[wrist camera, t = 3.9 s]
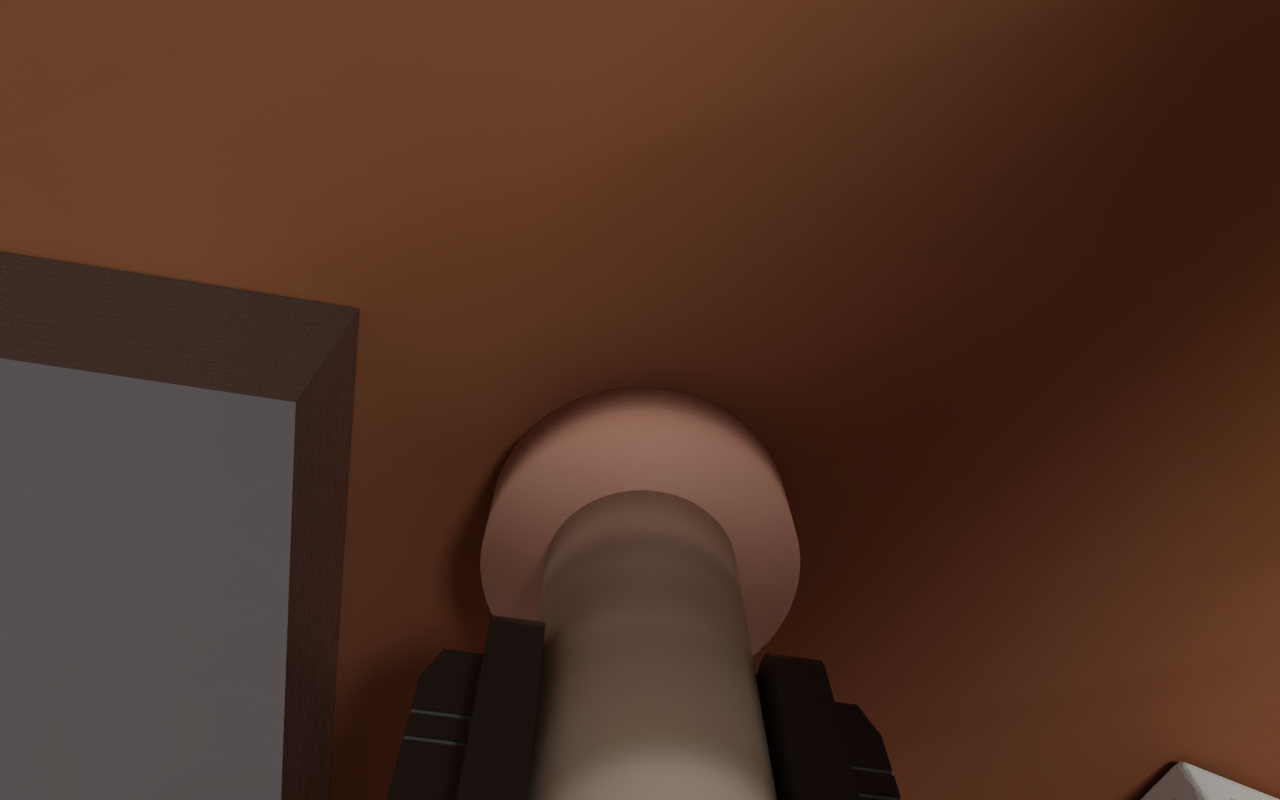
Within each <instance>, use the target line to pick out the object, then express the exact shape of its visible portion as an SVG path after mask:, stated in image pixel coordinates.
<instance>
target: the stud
mask: <svg viewBox="0 0 1280 800" xmlns="http://www.w3.org/2000/svg"><path fill="white" fill-rule="evenodd" d="M480 571H481V581H482V587H483V591H484V594H485V598H486V602H487V604H488V606H489V609H490V611H491V613H492V615H497V616H505V617H512V618H519V619H527V620H534V621H541V622H546V626H545V636H544V645H543V654H542V663H541V672H540V681H539V690H538V699H537V708H536V717H535V726H534V735H533V744H532V753H531V763H530V772H529V781H528V790H527V799H526V800H777V795H776V789H775V783H774V777H773V771H772V766H771V760H770V754H769V748H768V743H767V737H766V731H765V725H764V719H763V714H762V708H761V702H760V696H759V691H758V685H757V679H756V673H755V667H754V662H753V656H754V655H755V654H756V653H758V652H759V651H760V650H761V649H762V648H763V647H764V645H765V644H766V643H767V642H768V641H769V640H770V639H771V638H772V637H773V635H774V634H775V633H776V631H777V630H778V629H779V627H780V626H781V624H782V623H783V621H784V619H785V617H786V616H787V614H788V612H789V610H790V608H791V605H792V602H793V600H794V597H795V595H796V590H797V586H798V581H799V575H800V550H799V542H798V538H797V534H796V530H795V526H794V523H793V519H792V516H791V512H790V508H789V505H788V501H787V498H786V494H785V490H784V487H783V483H782V480H781V476H780V474H779V472H778V469H777V467H776V465H775V462H774V460H773V459H772V457H771V455H770V454H769V452H768V451H767V449H766V447H765V446H764V445H763V443H762V442H761V441H760V440H759V439H758V437H757V436H756V435H755V434H754V433H753V432H752V431H751V430H750V429H749V428H748V427H747V426H746V425H744V424H743V423H742V422H741V421H740V420H739V419H737V418H736V417H734V416H733V415H731V414H730V413H728V412H727V411H725V410H724V409H722V408H720V407H718V406H716V405H714V404H712V403H710V402H708V401H706V400H704V399H701V398H698V397H695V396H692V395H689V394H686V393H682V392H677V391H673V390H668V389H659V388H649V387H638V388H621V389H614V390H607V391H603V392H599V393H595V394H591V395H588V396H585V397H582V398H580V399H577V400H575V401H572V402H570V403H567V404H566V405H564V406H562V407H560V408H558V409H557V410H555V411H553V412H551V413H550V414H548V415H547V416H546V417H544V418H543V419H542V420H540V421H539V422H538V423H536V424H535V425H534V426H533V427H532V428H531V429H530V430H529V431H528V432H527V433H526V434H525V435H524V436H523V437H522V438H521V439H520V440H519V442H518V443H517V444H516V445H515V447H514V448H513V449H512V451H511V452H510V454H509V456H508V457H507V459H506V461H505V463H504V464H503V466H502V469H501V471H500V474H499V476H498V479H497V482H496V486H495V490H494V494H493V499H492V503H491V508H490V512H489V516H488V521H487V525H486V530H485V534H484V539H483V543H482V548H481V560H480Z"/></svg>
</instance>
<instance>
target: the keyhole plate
mask: <svg viewBox="0 0 1280 800" xmlns="http://www.w3.org/2000/svg"><path fill="white" fill-rule="evenodd" d="M358 323H359V308H353V307H347V306H341V305H334V304H328V303H322V302H315V301H309V300H303V299H296V298H290V297H284V296H278V295H271V294H265V293H259V292H252V291H246V290H240V289H233V288H227V287H221V286H215V285H208V284H202V283H196V282H189V281H183V280H177V279H170V278H164V277H158V276H152V275H145V274H139V273H133V272H126V271H120V270H114V269H108V268H101V267H95V266H89V265H82V264H76V263H70V262H63V261H57V260H51V259H45V258H38V257H32V256H26V255H19V254H13V253H7V252H0V800H328V792H329V776H330V760H331V745H332V729H333V714H334V698H335V682H336V667H337V651H338V636H339V620H340V604H341V589H342V573H343V557H344V542H345V526H346V511H347V495H348V479H349V464H350V448H351V433H352V417H353V401H354V386H355V370H356V354H357V339H358Z"/></svg>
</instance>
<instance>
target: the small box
mask: <svg viewBox="0 0 1280 800" xmlns="http://www.w3.org/2000/svg"><path fill="white" fill-rule="evenodd" d="M1141 800H1280V799H1277V798H1275V797H1272V796H1270V795H1267V794H1264V793H1262V792H1259V791H1257V790H1254V789H1251V788H1249V787H1246V786H1244V785H1241V784H1239V783H1236V782H1234V781H1231V780H1229V779H1226V778H1224V777H1221V776H1219V775H1216V774H1214V773H1211V772H1208V771H1206V770H1203V769H1201V768H1198V767H1196V766H1193V765H1191V764H1188V763H1186V762H1179V763H1177V764H1176V765H1174V766H1173V767H1172V768H1171V769H1170V770H1169V771H1168V772H1167V773H1166V774H1165V776H1164V777H1163V778H1162V779H1161V780H1160V781H1159V782H1158V783H1157V784H1155V785H1154V786H1153V787H1152V788H1151V789H1150V791H1149V792H1148V793H1147V794H1146V795H1145V796H1144V797H1143V798H1142V799H1141Z"/></svg>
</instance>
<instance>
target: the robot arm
mask: <svg viewBox="0 0 1280 800" xmlns="http://www.w3.org/2000/svg"><path fill="white" fill-rule="evenodd" d="M545 626H546V622H541V621H534V620H527V619H519V618H512V617H505V616H497V615H491V620H490V625H489V630H488V635H487V641H486V646H485V651H484V654H477V653H469V652H462V651H454V650H447V649H444V650H443V651H442V652H441V653H440V654H439V655H438V656H437V657H436V659H435V660H434V661H433V662H432V663H431V664H430V665H429V666H428V667H427V668H426V669H425V670H424V671H423V673H422V674H421V675H420V678H419V682H418V685H417V689H416V693H415V696H414V700H413V704H412V708H411V713H410V715H409V719H408V722H407V726H406V730H405V734H404V739H403V741H402V745H401V749H400V752H399V756H398V760H397V763H396V767H395V771H394V775H393V778H392V782H391V786H390V790H389V793H388V797H387V800H526V799H527V790H528V781H529V772H530V763H531V753H532V744H533V735H534V726H535V717H536V708H537V699H538V690H539V681H540V672H541V663H542V654H543V645H544V636H545ZM756 679H757V685H758V691H759V696H760V702H761V708H762V714H763V719H764V725H765V731H766V737H767V743H768V748H769V754H770V760H771V766H772V771H773V777H774V783H775V789H776V795H777V800H900V794H899V790H898V787H897V784H896V781H895V778H894V776H892V775H891V771H892V768H891V765H890V762H889V759H888V755H887V752H886V749H885V746H884V743H883V739H882V736H881V735H880V734H879V732H878V731H877V730H876V728H875V727H874V726H873V725H872V723H871V722H870V721H869V719H868V718H867V717H866V716H865V714H864V713H863V712H862V710H861V709H860V708H859V707H858V705H854V704H846V703H839V702H834V698H833V695H832V691H831V687H830V683H829V680H828V676H827V672H826V669H825V666H824V664H823V662H822V661H820V660H814V659H806V658H799V657H792V656H785V655H777V654H770V653H767V654H765V655H764V657H763V659H762V661H761V663H760V666H759V670H758V673H757V676H756Z"/></svg>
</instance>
